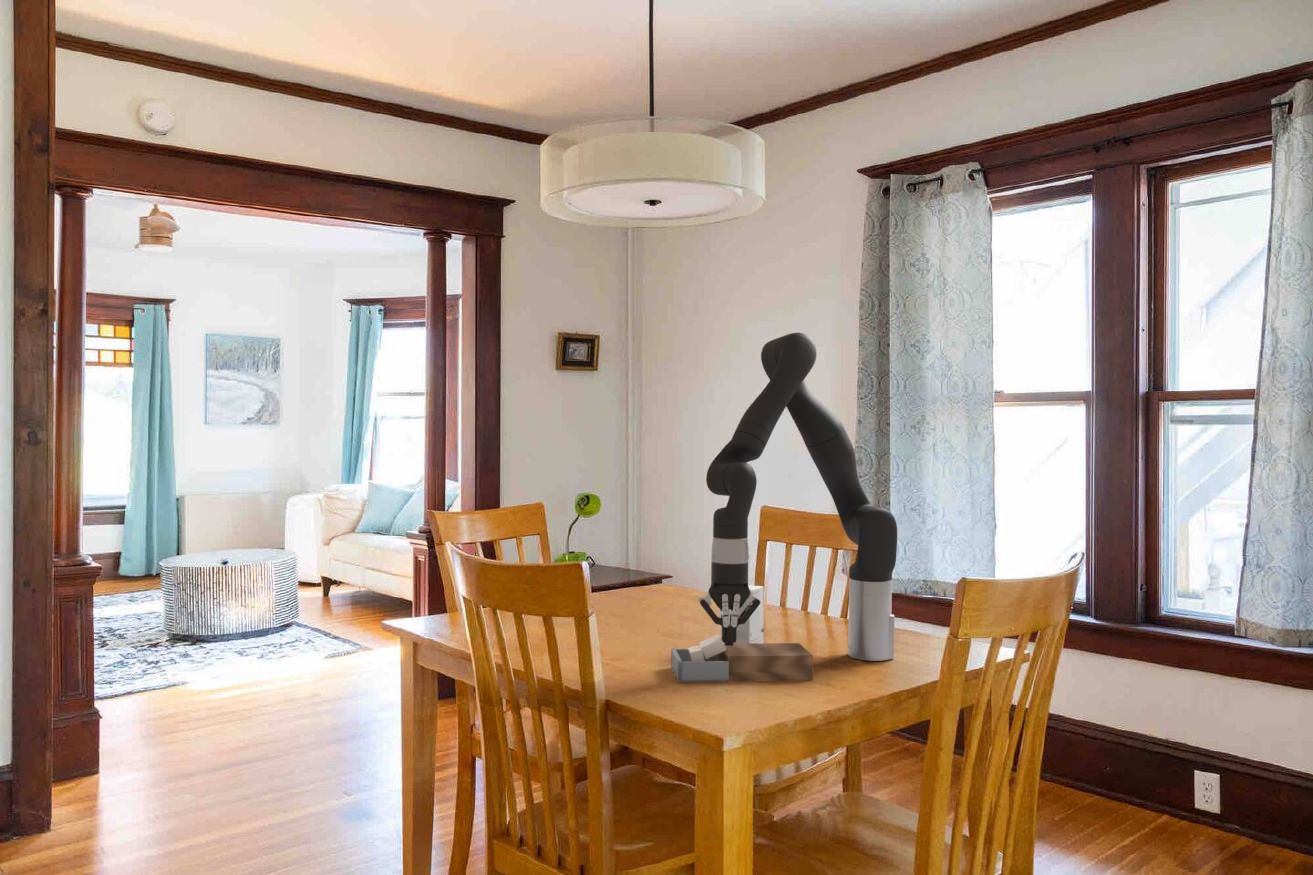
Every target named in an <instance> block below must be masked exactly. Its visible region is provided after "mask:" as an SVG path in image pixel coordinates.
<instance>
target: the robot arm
mask: <svg viewBox="0 0 1313 875" xmlns="http://www.w3.org/2000/svg"><path fill="white" fill-rule="evenodd" d="M817 354H818V353H817V347H816V344H815V342H814V341H813V339H812V338H811V337H810V336H809V335H808V334H806V333H804V332H803V333H802V332H791V333H788V334H785V335H783V336H780V337H776V338H773V339H772V340H768V341H767V342H766V343H765V344H764V345H763V347H762V349H761V352H760V360H761V361H760V362H761V365H762V368H763V370H764V372H765V374H766V376H767V378H768V379H769V382H768V383H767V384H766V386H765V387H764V388H763V389H762V391H761V392H760V393H759V394H758V396H756V398H755V399H754V400H753V402H752V403H751V404H750V405H749V407H748V408H747V409H746V410H745V412H744V413H743V415H742V417H741V419H740V420H739V423H738V425H737V427H736V429H735V431H734V432H733V435H732V437H731V439H730V440H729V441H728V442H727V443H726V445H724V447H723V448H722V449H721V451H719V453H718V454H717V455H716V457H714V459H713V460H712V462H711V463H710V465H709V466H708V469H707V472H706V478H705V480H706V481H705V482H706V486H707V488H708V490H709V492H711V493H712V494H714V495H717V496H726V497H728V500H727V503H726V506H725V507H721V508H717V509H716V510H714V512H713V517H712V518H713V519H712V523H713V524H712V525H713V528H712V532H713V533H712V544H711V561H710V562H711V563H710V564H711V566H710V569H711V570H710V572H711V573H710V574H711V575H710V576H711V577H710V581H711V582H710V586H709V589H708V593H707V594H705V595H704V596H703V597H700V598H699V599H698V603H699V605H701V607H702V608H703V609H704V611H705V612H706V614H707V615H708V616H709V618H710V619H711V621H713V622H714V624H715V625H719V626H721V639H722V641H723V643H724V644H725V645H726V646H729V645H730V646H733V643H735V642H736V634H737V626H738V625H740V624H745V623H746V621H747V620H748V619H749V617H750V616H751V615H752V614H753V612H754V611H755V610H756V609H757V607H758V606H759V605H760V600H758V599H757V598H755V597H754V596H752V595H751V594H750V593H751V592H750V589H749V587H748V585H749V559H750V554H749V550H750V548H749V543H748V541H749V540H748V536H749V535H748V532H749V530H748V529H749V528H748V527H749V525H748V524H749V522H748V520H749V515H750V512H751V508H752V505H753V501H754V498H755V494H756V489H757V483H758V482H757V480H758V479H757V474H756V472H755V469H754V467H753V466H752V465H751V464H749V462H752V461H756V460H758V459H759V458H760V457H761V456H762V454H763V452H764V450H765V448H766V446H767V444H768V442H769V439H770V438H771V436H772V433H773V431H774V429H775V427H776V425H777V423H778V421H779V420H780V418H781V416H782V415H783V412H784V410H785V409H787V411H788V413H789V415H790V416H791V418H792V421H793V423H794V424H795V426H796V428H797V430H798V432H799V433H800V436H801V437H802V440H803V443H804V445H805V447H806V449H807V451H808V453H809V456H810V457H811V459H812V462H813V463H814V465H815V466H816V468H817V470H818V473H819V474H820V476H821V479H822V481H823V482H824V484H825V486H826V488H827V490H828V492H829V494H830V496H831V498H832V500H833V504H834V505H835V509H836V511H837V514H838V516H839V519H840V521H841V525H842V527H843V528H842V529H843V530H844V533H845V535H846V536H847V538H848V539H849V540H850V541H851V542H853V543H854V544H855V545H857V556H856V559H855V562H853V563H851V565H850V566H849V570H848V571H849V572H848V575H849V576H848V577H849V578H848V633H847V635H848V640H847V641H848V644H847V650H848V651H847V653H848V655H847V656H849V658H852V659H855V660H861V661H869V662H879V661H880V662H882V661H887V660H894V659H895V619H896V618H895V615H894V614H892V603H893V602H892V599H893V596H892V595H893V594H892V593H893V592H892V591H893V571H895V570H894V569H895V567H896V564H897V551H898V549H897V548H898V524H897V520H896V518H895V516H894V515H893V513H892V512H891V511H889V510H888V509H886V508H883V507H880V506H879V507H878V506H875V505H873V504H872V503H871V501H870V500H869V498H868V497H867V495H866V493H865V491H864V488H862V485H861V482H860V480H859V476H858V475H859V474H858V470H857V468H858V467H857V459H856V453H855V448H854V446H853V442H852V441H851V439H850V436H849V435H848V433H847V430H846V429H845V426H844V424H843V423H842V421H841V419H840V418H839V417H838V416H837V415H836V414H835V413H834V412H833V411H832V410H831V409H830V408H828V407H827V406H826V405H825V404H824V403H823V402H822V401H820V400H819V399H818V398H817V397H816V396H815V394H814V393H812V391H811V389H810V388H809V387H808V385H807V382H806V381H805V379H806V378H807V376H808V375H809V373H810V372H811V370H812V368H813V367H814V365H815V364H816V360H817ZM747 599H748V601H747V604H748V605H747V607H746V608H745V609H744V611H743V612H742V613H741V614H740V616H739V617H738V614H739V609H740V608H741V607H742V606H743V604H744V603H745V601H746V600H747ZM711 600H713V602H714V604H715V605H716V606H717V608H718V609H719V612H720V613H719V615H720V616H717V614H716V613H715V611H714V610H713V609H712V608H711V606H712V604H713V603H712V601H711ZM729 609H730V618H728V616H729V611H728V610H729ZM729 623H730V626H729Z"/></svg>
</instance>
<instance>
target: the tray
mask: <svg viewBox="0 0 1313 875" xmlns="http://www.w3.org/2000/svg"><path fill="white" fill-rule="evenodd" d="M688 648H689V647H686V648H677V647H676V648H671V650H670V651H671V652H670V653H671V660H670V661H671V662H670V663H671V664H670V668H671V670H672V672H673V674H675V675H674V677H675V679H676V680H677V683H678V684H683V683H684V684H691V683H692V684H694V683H695V684H696V683H698V684H699V683H703V684H704V683H729V661H719V654H717V655H714V656H712V657H710V658H708V659H706V658H705V656H704V653H703V656H704V660H705V661H691V660H690V656H689V651H688Z"/></svg>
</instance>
